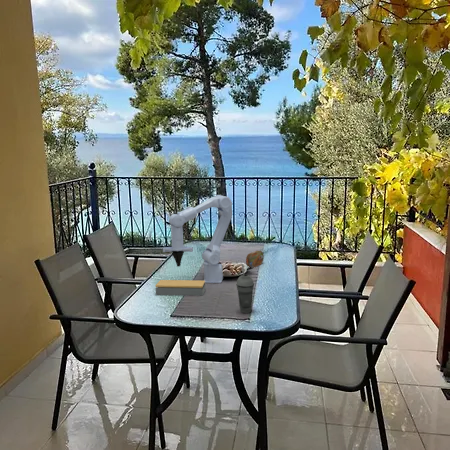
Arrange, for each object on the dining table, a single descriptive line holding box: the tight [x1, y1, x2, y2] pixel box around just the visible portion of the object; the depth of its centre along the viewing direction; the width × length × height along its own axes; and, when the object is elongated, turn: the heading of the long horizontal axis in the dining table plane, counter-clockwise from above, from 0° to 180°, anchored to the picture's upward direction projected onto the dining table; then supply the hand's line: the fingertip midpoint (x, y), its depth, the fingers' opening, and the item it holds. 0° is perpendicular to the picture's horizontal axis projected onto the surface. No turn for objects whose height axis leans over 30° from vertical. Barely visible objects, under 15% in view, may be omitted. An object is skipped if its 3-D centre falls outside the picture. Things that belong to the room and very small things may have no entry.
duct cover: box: [155, 279, 206, 288], centre depth 201 cm, size 22×9×1 cm, turn 84°
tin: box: [245, 250, 265, 269], centre depth 243 cm, size 15×3×8 cm, turn 143°
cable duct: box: [155, 283, 206, 297], centre depth 202 cm, size 22×9×4 cm, turn 84°
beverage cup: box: [236, 263, 255, 314], centre depth 175 cm, size 7×7×20 cm
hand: (178, 265), depth 210 cm, fingers closed
